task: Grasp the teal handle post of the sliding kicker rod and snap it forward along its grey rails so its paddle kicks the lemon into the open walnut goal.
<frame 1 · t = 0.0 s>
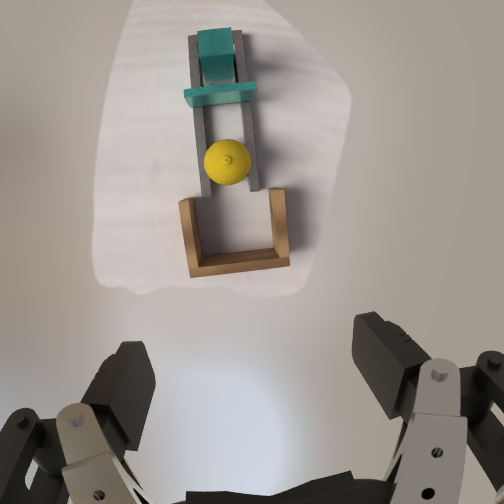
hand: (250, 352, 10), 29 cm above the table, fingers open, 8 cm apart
kicker: (217, 64, 27), point 5 cm above the table, slide at 0.0 cm
rails: (222, 113, 34), on the table
lemon: (227, 163, 36), on the table
goal: (234, 222, 38), on the table
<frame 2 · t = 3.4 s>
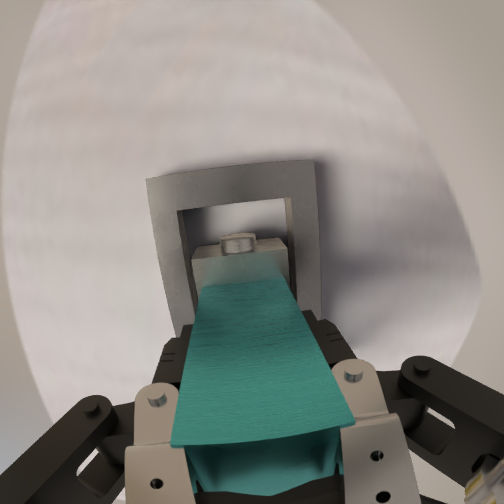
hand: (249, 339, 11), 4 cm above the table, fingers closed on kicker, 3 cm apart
kicker: (254, 372, 10), point 5 cm above the table, slide at 0.0 cm, touching gripper
rails: (255, 380, 16), on the table
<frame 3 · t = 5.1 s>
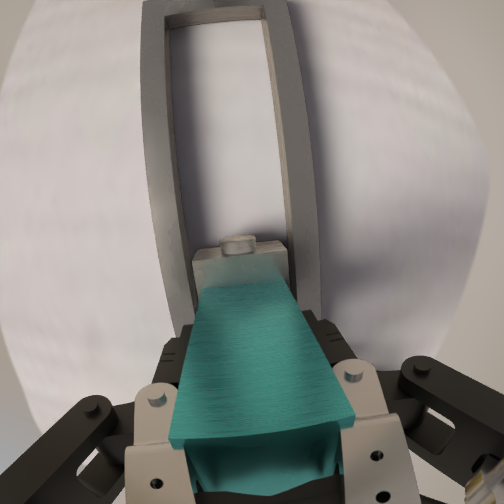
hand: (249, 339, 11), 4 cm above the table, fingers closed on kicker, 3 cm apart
kicker: (254, 372, 10), point 5 cm above the table, slide at 10.3 cm, touching gripper, lemon
rails: (234, 216, 14), on the table
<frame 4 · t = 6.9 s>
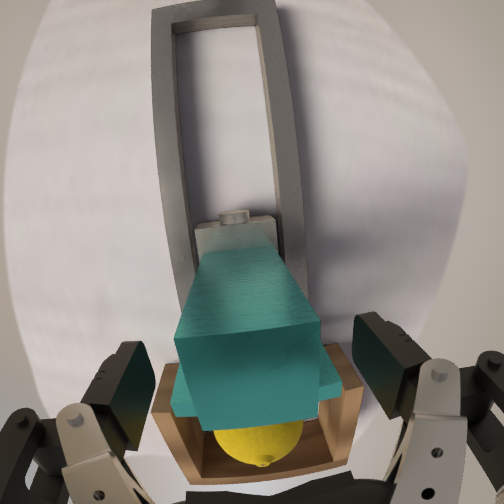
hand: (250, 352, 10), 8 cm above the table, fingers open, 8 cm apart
kicker: (246, 321, 12), point 5 cm above the table, slide at 10.3 cm, touching lemon
rails: (231, 195, 16), on the table
lemon: (250, 366, 19), on the table, touching kicker
goal: (257, 397, 20), on the table
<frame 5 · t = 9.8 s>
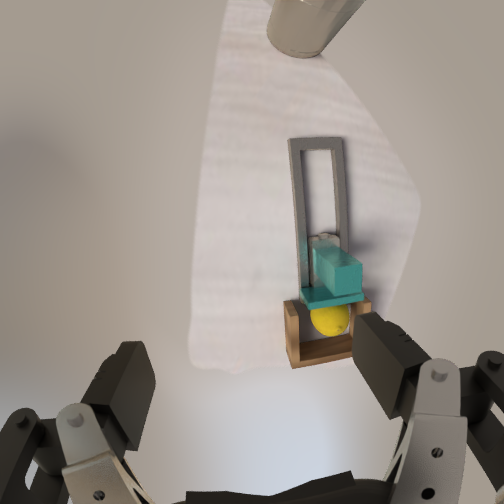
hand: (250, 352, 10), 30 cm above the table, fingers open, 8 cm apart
kicker: (333, 271, 36), point 5 cm above the table, slide at 10.3 cm, touching lemon
rails: (320, 226, 40), on the table
lemon: (321, 300, 43), on the table, touching kicker
goal: (322, 318, 44), on the table
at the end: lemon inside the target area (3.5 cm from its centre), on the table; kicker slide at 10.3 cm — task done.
